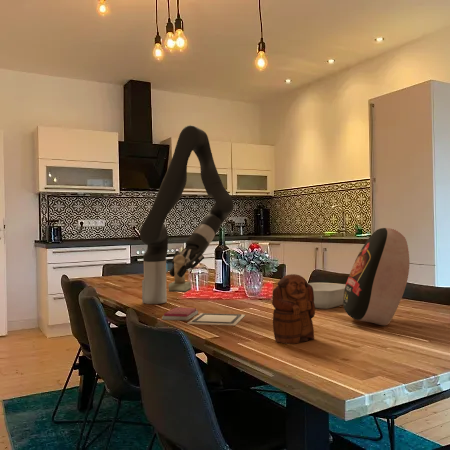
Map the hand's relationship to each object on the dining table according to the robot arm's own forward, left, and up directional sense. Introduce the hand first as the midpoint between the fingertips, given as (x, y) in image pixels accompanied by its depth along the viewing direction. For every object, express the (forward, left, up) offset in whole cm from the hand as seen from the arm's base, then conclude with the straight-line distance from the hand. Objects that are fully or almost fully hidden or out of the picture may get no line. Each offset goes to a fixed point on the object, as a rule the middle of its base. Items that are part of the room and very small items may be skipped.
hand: (175, 275), depth 160 cm
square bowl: (+48, +32, -15) cm, 60 cm away
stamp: (+1, +2, -6) cm, 6 cm away
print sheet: (+15, -1, -15) cm, 21 cm away
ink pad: (+1, +2, -15) cm, 15 cm away
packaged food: (+66, +3, -15) cm, 68 cm away
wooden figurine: (+43, -24, -15) cm, 52 cm away
